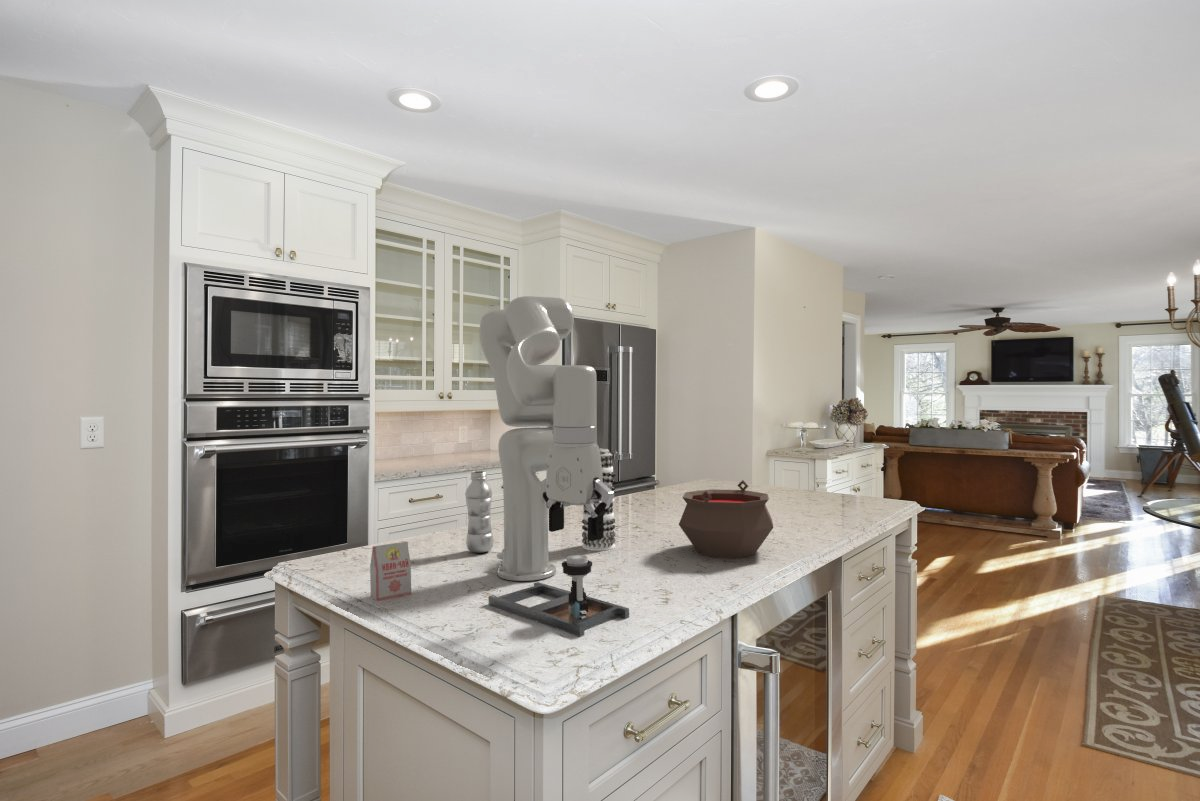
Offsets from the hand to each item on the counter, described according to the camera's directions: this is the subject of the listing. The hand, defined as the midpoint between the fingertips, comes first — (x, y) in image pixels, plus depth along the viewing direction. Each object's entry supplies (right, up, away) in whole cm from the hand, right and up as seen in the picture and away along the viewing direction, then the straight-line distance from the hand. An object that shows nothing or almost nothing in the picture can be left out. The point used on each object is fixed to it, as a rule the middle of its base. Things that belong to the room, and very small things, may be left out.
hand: (575, 534), depth 110 cm
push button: (+1, -14, -1) cm, 14 cm away
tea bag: (-37, -15, +14) cm, 42 cm away
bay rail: (-4, -14, +3) cm, 15 cm away
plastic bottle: (-26, -15, +48) cm, 56 cm away
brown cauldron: (+35, -14, +45) cm, 59 cm away
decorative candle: (+4, -14, +51) cm, 53 cm away
